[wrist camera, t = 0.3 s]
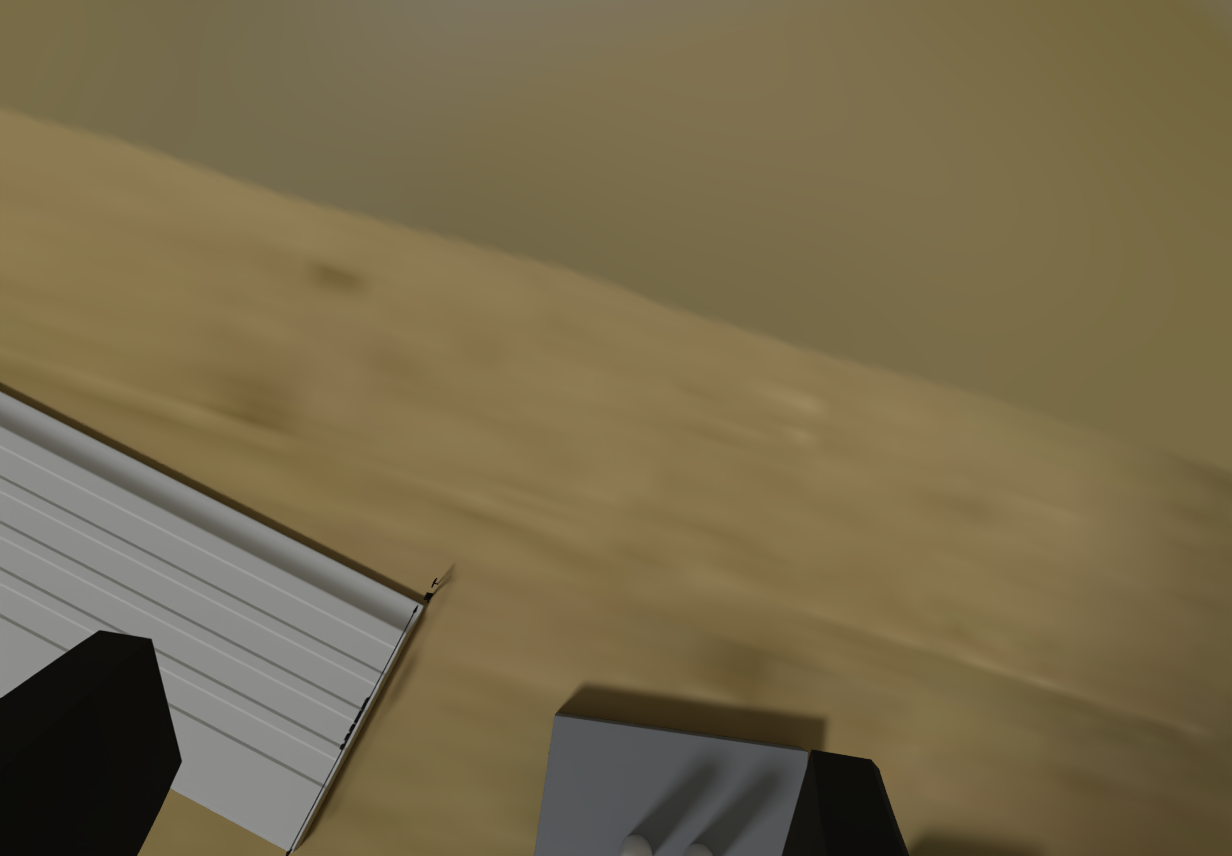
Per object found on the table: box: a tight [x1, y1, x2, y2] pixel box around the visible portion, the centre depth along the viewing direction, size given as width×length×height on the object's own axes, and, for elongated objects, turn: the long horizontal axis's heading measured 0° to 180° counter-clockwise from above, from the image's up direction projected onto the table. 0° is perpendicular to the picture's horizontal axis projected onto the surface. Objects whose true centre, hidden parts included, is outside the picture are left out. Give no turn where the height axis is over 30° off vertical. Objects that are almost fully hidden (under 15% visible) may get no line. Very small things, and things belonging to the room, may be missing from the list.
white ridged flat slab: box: [0, 391, 438, 856], centre depth 40 cm, size 31×3×12 cm
